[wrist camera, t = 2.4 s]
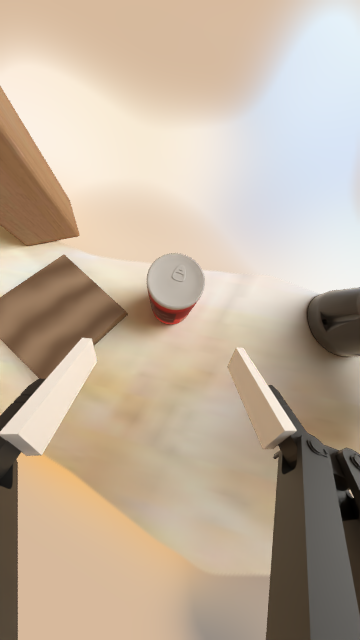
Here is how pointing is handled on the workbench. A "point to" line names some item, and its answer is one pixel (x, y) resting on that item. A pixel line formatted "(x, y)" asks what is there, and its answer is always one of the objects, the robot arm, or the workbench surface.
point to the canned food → (174, 287)
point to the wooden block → (29, 186)
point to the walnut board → (55, 315)
